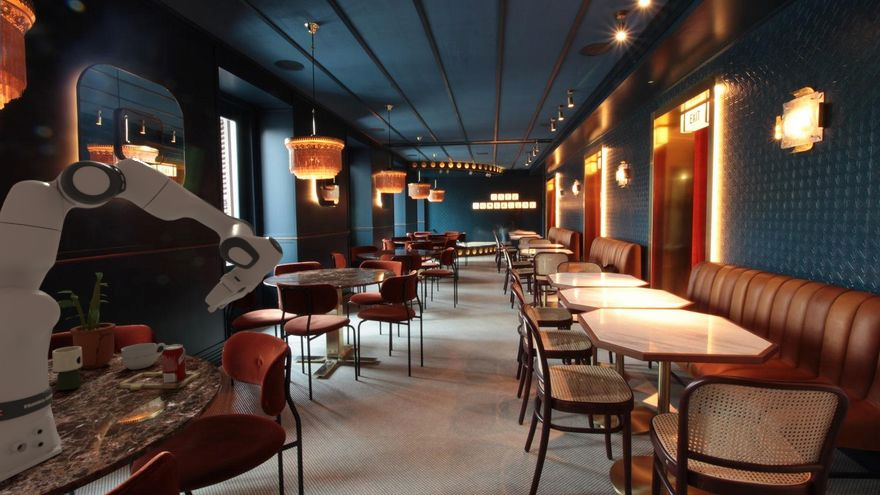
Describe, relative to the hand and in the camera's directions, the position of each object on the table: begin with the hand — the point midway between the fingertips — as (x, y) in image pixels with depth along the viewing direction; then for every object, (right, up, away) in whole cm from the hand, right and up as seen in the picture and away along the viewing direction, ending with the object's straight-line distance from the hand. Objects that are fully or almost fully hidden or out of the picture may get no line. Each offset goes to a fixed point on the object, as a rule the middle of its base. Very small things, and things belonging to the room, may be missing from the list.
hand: (215, 309), depth 139 cm
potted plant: (-56, -25, +18) cm, 64 cm away
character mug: (-46, -26, -1) cm, 53 cm away
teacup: (-37, -25, +20) cm, 49 cm away
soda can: (-16, -25, +5) cm, 31 cm away
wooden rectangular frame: (-21, -25, +5) cm, 33 cm away
